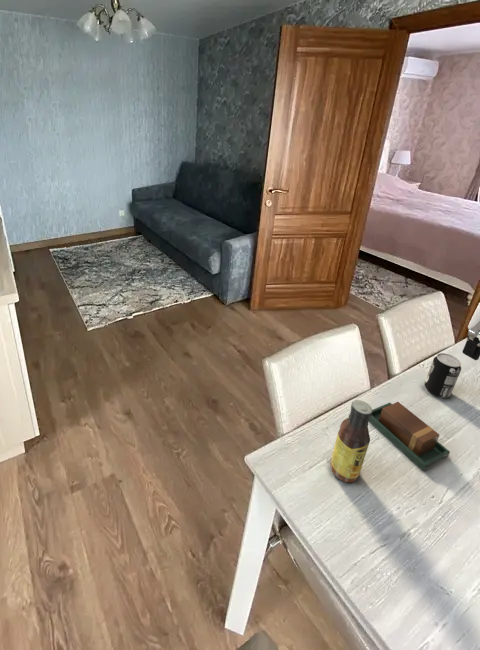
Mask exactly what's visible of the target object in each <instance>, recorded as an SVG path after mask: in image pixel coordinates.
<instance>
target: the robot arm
mask: <svg viewBox="0 0 480 650" xmlns="http://www.w3.org/2000/svg"><path fill="white" fill-rule="evenodd" d="M467 329H468V332H467V335H466V341H465V344H464V346H463V349H462V354H463V355H465V356H467V357H468V358H470V359H472V360H474V361H478V360H479V359H480V339H479V337H478V336H480V302H479V303H478V305H477V307H476V309H475V311H474V312H473V315H472V316H471V319H470V321H469V323H468V325H467Z"/></svg>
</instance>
